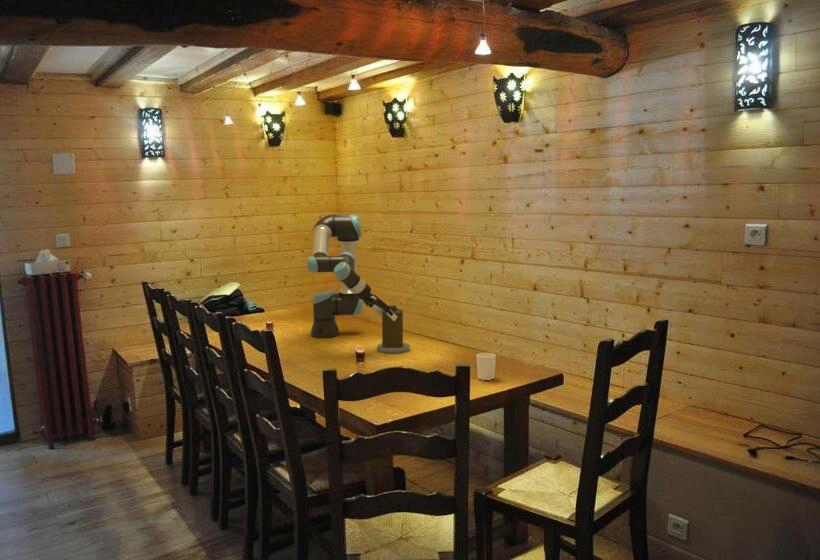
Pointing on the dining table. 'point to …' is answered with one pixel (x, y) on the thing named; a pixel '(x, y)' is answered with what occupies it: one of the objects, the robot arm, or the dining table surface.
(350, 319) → the dining table surface
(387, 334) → the canister
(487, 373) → the white cup
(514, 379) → the dining table surface
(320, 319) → the robot arm
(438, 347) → the dining table surface
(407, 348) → the disc
